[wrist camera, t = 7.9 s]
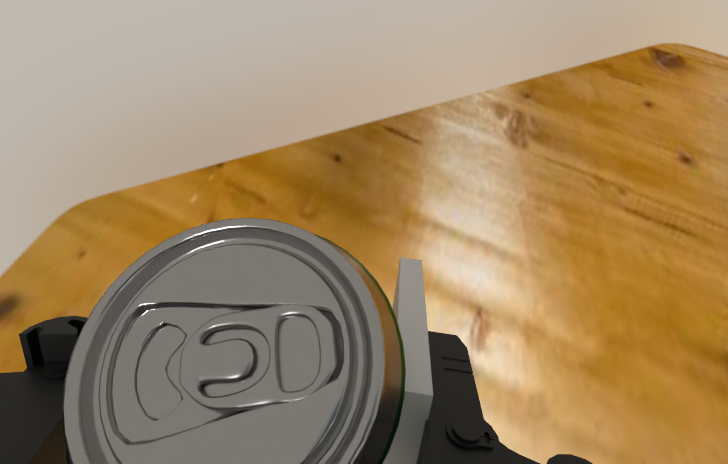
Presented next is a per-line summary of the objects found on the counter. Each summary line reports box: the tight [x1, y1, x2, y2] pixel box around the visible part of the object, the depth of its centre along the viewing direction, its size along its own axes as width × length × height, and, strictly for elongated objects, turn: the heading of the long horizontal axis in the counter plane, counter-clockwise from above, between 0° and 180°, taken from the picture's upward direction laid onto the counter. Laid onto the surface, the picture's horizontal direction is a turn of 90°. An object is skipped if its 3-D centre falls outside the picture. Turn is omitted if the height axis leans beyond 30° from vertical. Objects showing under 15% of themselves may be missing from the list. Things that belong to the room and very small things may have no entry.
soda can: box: [62, 218, 406, 464], centre depth 11 cm, size 5×5×12 cm
